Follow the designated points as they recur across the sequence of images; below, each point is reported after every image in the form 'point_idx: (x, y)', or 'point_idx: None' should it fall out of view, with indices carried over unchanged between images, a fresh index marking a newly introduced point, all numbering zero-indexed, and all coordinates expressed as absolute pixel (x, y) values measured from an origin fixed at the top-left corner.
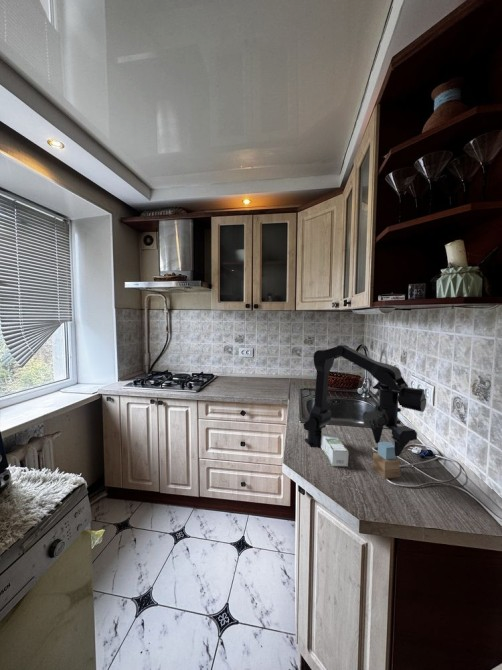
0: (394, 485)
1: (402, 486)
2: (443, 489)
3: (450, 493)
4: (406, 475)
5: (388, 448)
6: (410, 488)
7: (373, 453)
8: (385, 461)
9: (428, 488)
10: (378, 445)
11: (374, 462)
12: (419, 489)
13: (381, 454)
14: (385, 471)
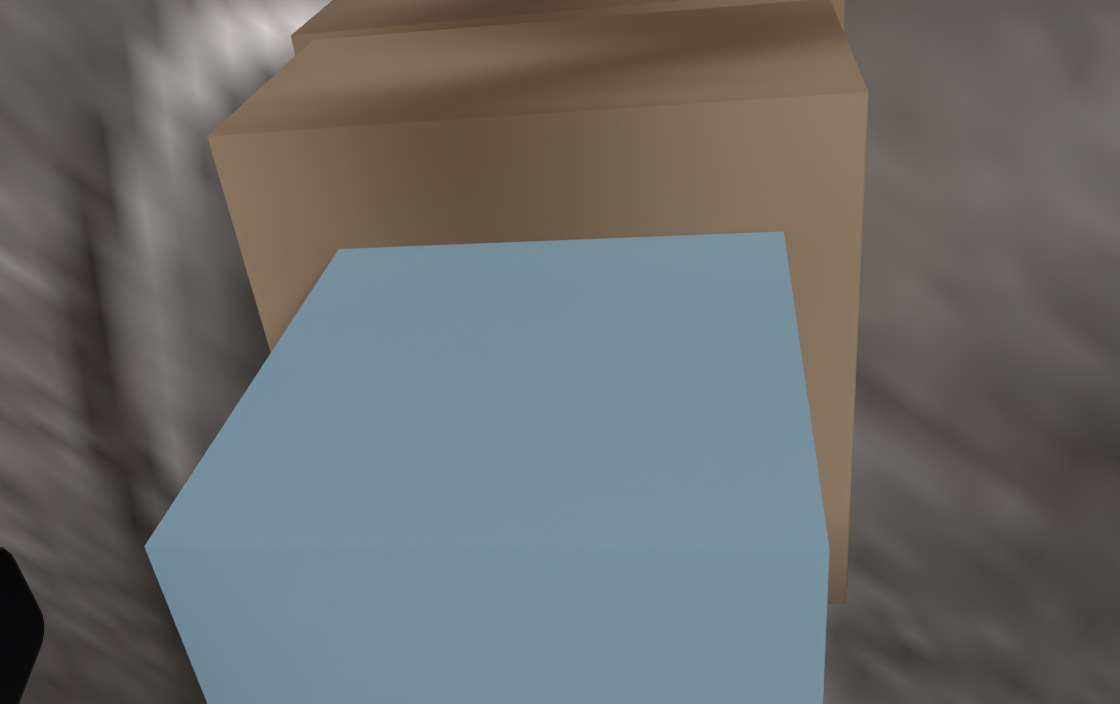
0: (115, 43)
1: (103, 185)
2: (113, 689)
3: (33, 698)
4: None
5: (193, 613)
6: (60, 285)
7: (860, 85)
8: (220, 162)
9: (107, 542)
10: (779, 444)
11: (768, 7)
12: (56, 405)
13: (559, 274)
14: (295, 46)
